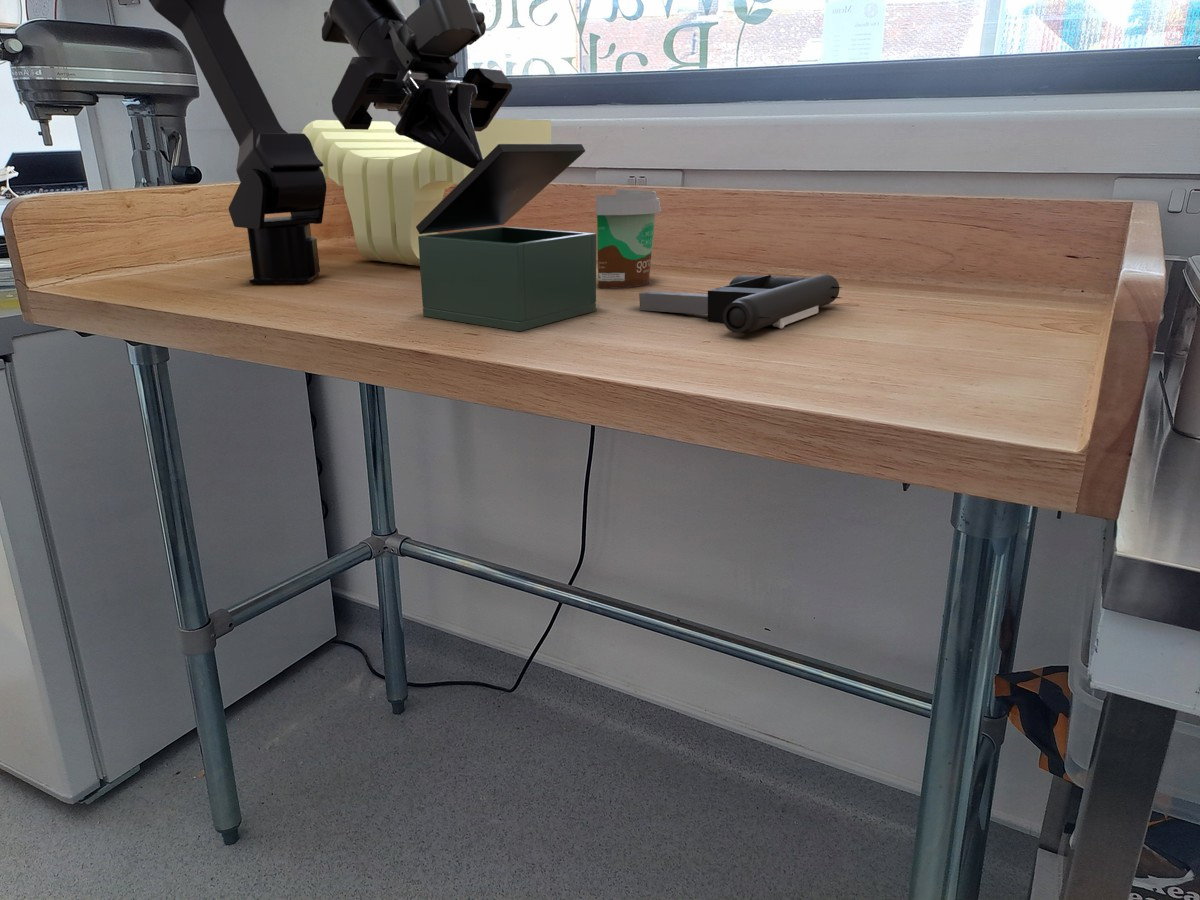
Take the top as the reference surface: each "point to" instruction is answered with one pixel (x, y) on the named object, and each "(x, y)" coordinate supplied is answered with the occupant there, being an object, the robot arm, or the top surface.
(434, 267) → the box
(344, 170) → the slatted curved stool
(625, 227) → the food container
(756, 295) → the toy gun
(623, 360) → the top surface
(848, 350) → the top surface
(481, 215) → the box lid
